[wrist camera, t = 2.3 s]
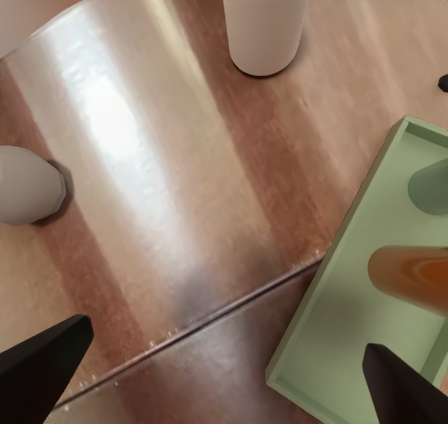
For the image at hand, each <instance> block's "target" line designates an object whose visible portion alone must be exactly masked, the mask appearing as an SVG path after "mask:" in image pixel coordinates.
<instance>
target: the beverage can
mask: <svg viewBox="0 0 448 424" xmlns="http://www.w3.org/2000/svg"><path fill="white" fill-rule="evenodd" d="M223 1H224V9H225V17H226V26H227V34H228V42H229V50H230V55H231V58H232V60H233V62H234V63H235V65H236V66H237V67H238V68H239V69H241V70H242V71H244V72H245V73H248V74H251V75H256V76H265V75H270V74H274V73H276V72H278V71H280V70H282V69H283V68H285V67H286V66H287V65H288V64H289V63H290V62H291V61H292V59H293V58H294V56H295V54H296V52H297V49H298V45H299V41H300V36H301V32H302V28H303V23H304V19H305V15H306V10H307V6H308V2H309V0H223Z"/></svg>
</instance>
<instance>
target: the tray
mask: <svg viewBox="0 0 448 424" xmlns="http://www.w3.org/2000/svg"><path fill="white" fill-rule="evenodd" d="M447 157H448V131H447V130H444V129H442V128H439V127H437V126H434V125H432V124H429V123H426V122H424V121H421V120H419V119H416V118H414V117H411V116H408V115H405V116H404V117H403V118H401V119H400V120H399V121H398V122H397V123H395V124H394V125H393V127H392V128H391V130H390V132H389V134H388V136H387V138H386V140H385V142H384V144H383V146H382V148H381V150H380V151H379V153H378V155H377V157H376V159H375V161H374V163H373V165H372V167H371V169H370V171H369V173H368V174H367V176H366V178H365V180H364V182H363V184H362V186H361V188H360V190H359V192H358V194H357V196H356V197H355V199H354V201H353V203H352V205H351V207H350V209H349V211H348V213H347V215H346V217H345V219H344V220H343V222H342V224H341V226H340V228H339V230H338V232H337V234H336V236H335V238H334V240H333V242H332V243H331V245H330V247H329V249H328V251H327V253H326V255H325V257H324V259H323V261H322V263H321V264H320V266H319V268H318V270H317V272H316V274H315V276H314V278H313V280H312V282H311V284H310V286H309V287H308V289H307V291H306V293H305V295H304V297H303V299H302V301H301V303H300V305H299V307H298V309H297V310H296V312H295V314H294V316H293V318H292V320H291V322H290V324H289V326H288V328H287V330H286V332H285V333H284V335H283V337H282V339H281V341H280V343H279V345H278V347H277V349H276V351H275V353H274V355H273V356H272V358H271V360H270V362H269V364H268V366H267V368H266V370H265V379H266V385H268V386H269V387H271V388H272V389H274V390H275V391H277V392H278V393H280V394H281V395H283V396H284V397H286V398H287V399H289V400H290V401H292V402H293V403H295V404H296V405H298V406H299V407H301V408H302V409H303V410H305V411H306V412H308V413H309V414H311V415H312V416H314V417H315V418H317V419H318V420H320V421H321V422H323V423H324V424H379V421H378V418H377V415H376V411H375V408H374V405H373V402H372V399H371V396H370V393H369V389H368V386H367V383H366V380H365V377H364V374H363V370H362V361H363V357H364V352H365V348H366V345H367V344H368V343H377V344H383V345H385V346H386V347H388V348H389V349H390V350H391V351H392V352H394V353H395V354H396V355H397V356H398V357H400V358H401V359H402V360H403V361H405V362H406V363H407V364H408V365H409V366H411V367H412V368H413V369H414V370H416V371H417V372H418V373H419V374H420V375H422V376H423V377H424V378H425V379H426V380H428V381H429V382H430V383H431V384H433V385H434V386H435V387H436V388H437V389H439V387H440V385H441V383H442V381H443V379H444V377H445V375H446V373H447V370H448V319H445V318H443V317H440V316H438V315H435V314H433V313H430V312H428V311H425V310H423V309H420V308H418V307H415V306H413V305H410V304H408V303H405V302H403V301H400V300H398V299H395V298H393V297H390V296H388V295H385V294H383V293H382V292H380V291H379V290H378V289H377V288H376V287H375V286H374V285H373V284H372V282H371V280H370V278H369V275H368V269H367V268H368V262H369V259H370V257H371V255H372V254H373V253H374V252H375V251H376V250H377V249H379V248H381V247H383V246H386V245H426V246H448V214H446V215H432V214H428V213H425V212H423V211H422V210H420V209H419V208H417V207H416V206H415V205H414V204H413V202H412V201H411V199H410V197H409V194H408V184H409V181H410V179H411V177H412V176H413V174H414V173H415V172H417V171H418V170H420V169H422V168H424V167H426V166H428V165H431V164H433V163H435V162H438V161H440V160H442V159H445V158H447Z"/></svg>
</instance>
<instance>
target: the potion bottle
mask: <svg viewBox="0 0 448 424" xmlns="http://www.w3.org/2000/svg"><path fill="white" fill-rule="evenodd" d="M66 194H67V193H66V187H65V182H64V176H63V175H61V174H60V173H59V172H58V170H57V169H56V168H54V167H53V166H51V165H50V164H49V163H47V162H46V161H44V160H43V159H42V158H40V157H39V156H37V155H36V154H34V153H33V152H32V151H30V150H29V149H25V148H20V147H14V146H8V145H6V146H0V222H2V223H6V224H9V225H13V226H15V225H21V224H27V223H32V222H34V221H36V220H38V219H43V218H45V217H47V216H49V215H51V214H53V213H55V212H57V211H58V210H59V208H60V206H61V204H62V202H63V200H64V198H65V196H66Z"/></svg>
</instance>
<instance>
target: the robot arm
mask: <svg viewBox="0 0 448 424" xmlns="http://www.w3.org/2000/svg"><path fill="white" fill-rule="evenodd" d="M93 337H94V331H93V327H92V322H91V318H90V316H89V315H83V314H76V315H74V316H72V317H70V318H68V319H66V320H64V321H62V322H60V323H58V324H56V325H54V326H52V327H51V328H49V329H47V330H45V331H43V332H41V333H39V334H37V335H35V336H33V337H31V338H29V339H27V340H25V341H23V342H21V343H19V344H17V345H15V346H13V347H12V348H10V349H8V350H6V351H4V352H2V353H0V424H43V423H44V421H45V420H46V418H47V417H48V415H49V413H50V412H51V410H52V409H53V407H54V406H55V404H56V403H57V401H58V400H59V398H60V397H61V395H62V394H63V392H64V390H65V389H66V387H67V385H68V384H69V382H70V380H71V378H72V377H73V375H74V373H75V371H76V369H77V368H78V366H79V364H80V362H81V360H82V359H83V357H84V355H85V353H86V351H87V350H88V348H89V346H90V344H91V343H92V340H93ZM362 370H363V374H364V377H365V380H366V383H367V386H368V389H369V393H370V396H371V399H372V402H373V405H374V408H375V411H376V415H377V418H378V421H379V424H448V397H447V396H446V395H445V394H443V393H442V392H441V391H440V390H439V389H437V388H436V387H435V386H434V385H433V384H431V383H430V382H429V381H428V380H426V379H425V378H424V377H423V376H422V375H420V374H419V373H418V372H417V371H416V370H414V369H413V368H412V367H411V366H409V365H408V364H407V363H406V362H405V361H403V360H402V359H401V358H400V357H398V356H397V355H396V354H395V353H394V352H392V351H391V350H390V349H389V348H388V347H386V346H385V345H383V344H377V343H368V344H367V345H366V348H365V352H364V357H363V361H362Z"/></svg>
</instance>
